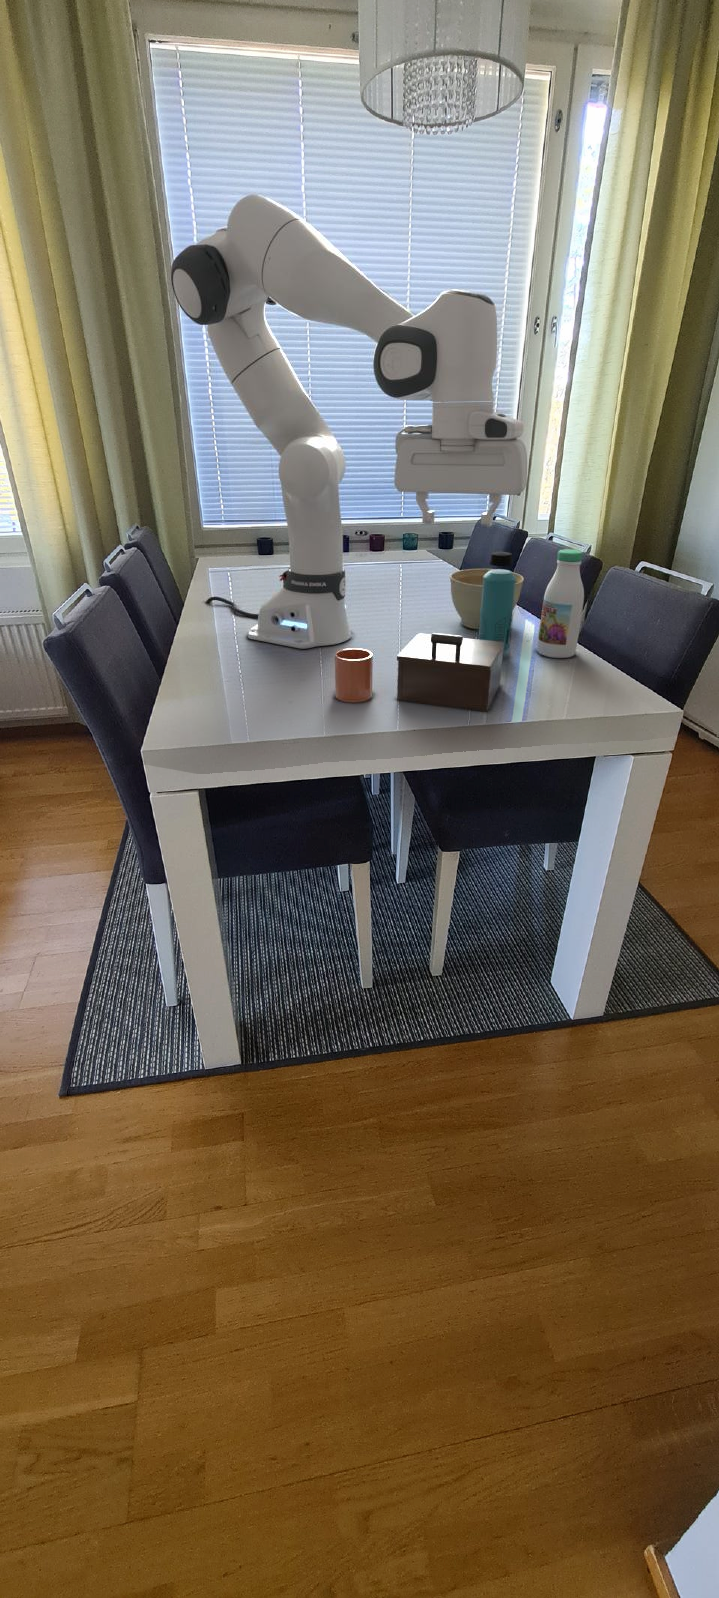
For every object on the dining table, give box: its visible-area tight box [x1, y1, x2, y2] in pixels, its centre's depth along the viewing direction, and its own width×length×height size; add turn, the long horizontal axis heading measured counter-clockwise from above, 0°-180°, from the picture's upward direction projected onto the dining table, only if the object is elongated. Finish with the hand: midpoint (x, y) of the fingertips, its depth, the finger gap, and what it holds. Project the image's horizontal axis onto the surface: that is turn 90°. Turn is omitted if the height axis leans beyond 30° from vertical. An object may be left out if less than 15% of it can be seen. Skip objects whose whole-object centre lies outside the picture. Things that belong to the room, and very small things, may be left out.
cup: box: [334, 647, 374, 704], centre depth 120 cm, size 6×6×8 cm
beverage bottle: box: [477, 551, 516, 653], centre depth 135 cm, size 6×7×20 cm
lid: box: [396, 632, 504, 671], centre depth 117 cm, size 14×16×5 cm
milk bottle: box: [536, 548, 585, 659], centre depth 137 cm, size 8×8×20 cm
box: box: [396, 647, 504, 712], centre depth 121 cm, size 13×16×7 cm
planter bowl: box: [449, 568, 525, 630], centre depth 157 cm, size 16×16×11 cm
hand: (456, 524), depth 109 cm, fingers open, 8 cm apart
